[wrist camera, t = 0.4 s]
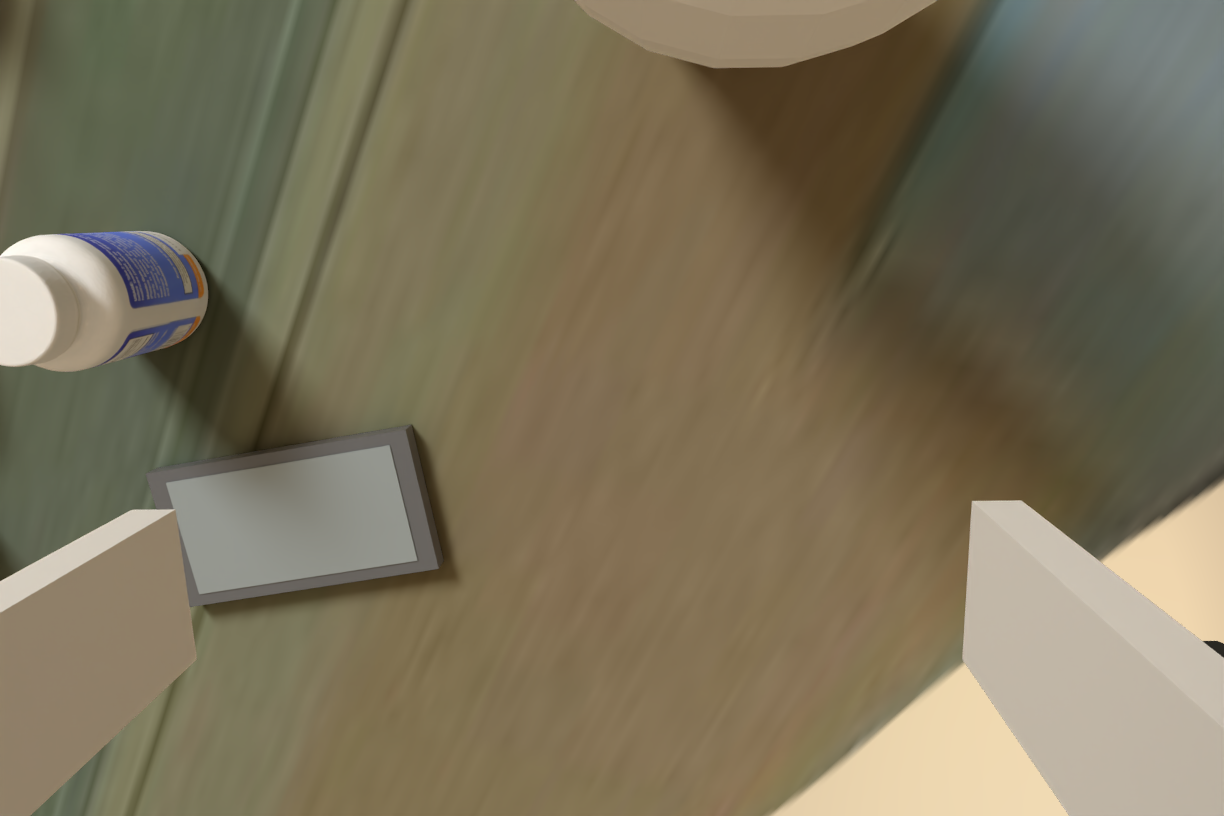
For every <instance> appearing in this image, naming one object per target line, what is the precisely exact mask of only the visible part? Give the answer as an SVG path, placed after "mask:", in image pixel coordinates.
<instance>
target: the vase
mask: <svg viewBox="0 0 1224 816" xmlns="http://www.w3.org/2000/svg"><path fill="white" fill-rule="evenodd" d="M574 1H575V2H576V3H577V4H578V5H579V6H580V7H581V8H582V9H583V10H584V11H585V12H586V13H587V14H588V15H589V16H591V17H592V18H594V19H596V20H597V21H599V22H601V23H602V24H604V25H606V26H607V27H609V28H611V29H612V30H614V31H616V32H617V33H619V34H621V35H622V36H624V37H626V38H627V39H629V40H631V41H633V42H634V43H636V44H638V45H639V46H641V47H643V48H644V49H646V50H648V51H651V52H655V53H658V54H662V55H666V56H670V57H673V58H677V59H681V60H685V61H688V62H692V63H696V64H700V65H703V66H707V67H711V68H757V67H784V66H788V65H791V64H794V63H798V62H801V61H805V60H808V59H811V58H815V57H818V56H821V55H825V54H828V53H832V52H835V51H838V50H842V49H845V48H848V47H851V46H854V45H856V44H859V43H861V42H864V41H866V40H869V39H871V38H873V37H876V36H878V35H881V34H883V33H885V32H886V31H888V30H890V29H891V28H893V27H895V26H896V25H898V24H899V23H901V22H903V21H904V20H906V19H908V18H909V17H911V16H913V15H914V14H916V13H918V12H919V11H921V10H923V9H924V8H926V7H928V6H929V5H931V4H932V3H934V2H936V1H937V0H574Z"/></svg>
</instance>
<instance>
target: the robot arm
mask: <svg viewBox="0 0 1224 816" xmlns="http://www.w3.org/2000/svg"><path fill="white" fill-rule="evenodd" d="M195 660H197V656H196V649H195V642H194V635H193V628H192V621H191V614H190V607H189V600H188V593H187V586H186V579H185V572H184V565H183V558H182V551H181V545H180V538H179V531H178V524H177V517H176V510H175V509H168V510H131V511H129V512H127V513H125V514H123V515H121V516H120V517H118V518H116V519H114V520H112V521H110V522H109V523H107V524H105V525H103V526H101V527H99V528H97V529H96V530H94V531H92V532H90V533H88V534H86V535H85V536H83V537H81V538H79V539H77V540H75V541H73V542H72V543H70V544H68V545H66V546H64V547H62V548H61V549H59V550H57V551H55V552H53V553H51V554H49V555H48V556H46V557H44V558H42V559H40V560H38V561H37V562H35V563H33V564H31V565H29V566H27V567H26V568H24V569H22V570H20V571H18V572H16V573H14V574H13V575H11V576H9V577H7V578H5V579H3V580H2V581H0V816H30V815H31V814H32V813H33V812H34V811H36V810H37V809H38V808H39V807H40V806H41V805H42V804H43V803H44V802H45V801H46V800H47V799H48V798H49V797H50V796H52V795H53V794H54V793H55V792H56V791H57V790H58V789H59V788H60V787H61V786H62V785H63V784H64V783H65V782H66V781H68V780H69V779H70V778H71V777H72V776H73V775H74V774H75V773H76V772H77V771H78V770H79V769H80V768H81V767H82V766H84V765H85V764H86V763H87V762H88V761H89V760H90V759H91V758H92V757H93V756H94V755H95V754H96V753H97V752H98V751H100V750H101V749H102V748H103V747H104V746H105V745H106V744H107V743H108V742H109V741H110V740H111V739H112V738H113V737H114V736H115V735H117V734H118V733H119V732H120V731H121V730H122V729H123V728H124V727H125V726H126V725H127V724H128V723H129V722H130V721H131V720H133V719H134V718H135V717H136V716H137V715H138V714H139V713H140V712H141V711H142V710H143V709H144V708H145V707H146V706H147V705H149V704H150V703H151V702H152V701H153V700H154V699H155V698H156V697H157V696H158V695H159V694H160V693H161V692H162V691H163V690H165V689H166V688H167V687H168V686H169V685H170V684H171V683H172V682H173V681H174V680H175V679H176V678H177V677H178V676H179V675H181V674H182V673H183V672H184V671H185V670H186V669H187V668H188V667H189V666H190V665H191V664H192V663H193V662H194V661H195ZM962 660H963V661H964V663H965V664H966V666H967V667H968V669H969V670H970V671H971V673H972V674H973V676H974V677H975V678H976V680H977V681H978V683H979V684H980V686H981V687H982V689H983V690H984V692H985V693H986V695H987V696H988V698H989V699H990V701H991V702H992V704H993V705H994V706H995V708H996V709H997V711H998V712H999V714H1000V715H1001V717H1002V718H1003V720H1004V721H1005V723H1006V724H1007V726H1008V727H1009V728H1010V730H1011V731H1012V733H1013V734H1014V736H1015V737H1016V739H1017V740H1018V742H1019V743H1020V744H1021V746H1022V747H1023V749H1024V750H1025V752H1026V753H1027V755H1028V756H1029V758H1030V759H1031V761H1032V762H1033V763H1034V765H1035V766H1036V768H1037V769H1038V771H1039V772H1040V774H1041V775H1042V777H1043V778H1044V779H1045V781H1046V782H1047V784H1048V785H1049V787H1050V788H1051V790H1052V791H1053V793H1054V794H1055V796H1056V797H1057V799H1058V800H1059V802H1060V803H1061V804H1062V806H1063V807H1064V809H1065V810H1066V812H1067V813H1068V815H1069V816H1224V644H1223V643H1221V642H1218V641H1201V640H1200V639H1199V638H1198V637H1196V636H1195V635H1194V634H1192V633H1191V632H1190V631H1189V630H1187V629H1186V628H1185V627H1183V626H1182V625H1181V624H1179V623H1178V622H1177V621H1176V620H1174V619H1173V618H1172V617H1170V616H1169V615H1168V614H1166V613H1165V612H1164V611H1163V610H1162V609H1160V608H1159V607H1158V606H1156V605H1155V604H1154V603H1153V602H1151V601H1150V600H1149V599H1147V598H1146V597H1145V596H1144V595H1142V594H1141V593H1139V592H1138V591H1137V590H1136V589H1135V588H1133V587H1132V586H1131V585H1129V584H1128V583H1127V582H1126V581H1124V580H1123V579H1122V578H1120V577H1119V576H1118V575H1116V574H1115V573H1114V572H1113V571H1111V570H1110V569H1109V568H1107V567H1106V566H1105V565H1104V564H1102V563H1101V562H1100V561H1099V560H1097V559H1096V558H1095V557H1093V556H1092V555H1091V554H1090V553H1088V552H1087V551H1086V550H1084V549H1083V548H1082V547H1081V546H1079V545H1078V544H1077V543H1075V542H1074V541H1073V540H1072V539H1070V538H1069V537H1068V536H1066V535H1065V534H1064V533H1063V532H1061V531H1060V530H1059V529H1057V528H1056V527H1055V526H1054V525H1052V524H1051V523H1050V522H1048V521H1047V520H1046V519H1045V518H1043V517H1042V516H1041V515H1039V514H1038V513H1037V512H1036V511H1034V510H1033V509H1032V508H1030V507H1029V506H1028V505H1027V504H1025V503H1024V502H1023V501H1021V500H1019V501H972V509H971V525H970V542H969V559H968V575H967V592H966V609H965V626H964V642H963V659H962Z"/></svg>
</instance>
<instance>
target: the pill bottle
mask: <svg viewBox="0 0 1224 816" xmlns="http://www.w3.org/2000/svg"><path fill="white" fill-rule="evenodd" d="M207 304H208V285H207V281H206V278H205V275H204V272H203V270H202V268H201V266H200V264H199V263H198V261H197V260H196V258H195V257H194V256H193V255H192V254H191V252H190V251H189V250H188V249H187V248H185V247H184V246H183V245H182V244H180V243H179V242H178V241H176V240H174V239H172V238H170V237H168V236H166V235H163V234H160V233H156V232H149V231H124V232H103V233H77V234H51V235H39V236H33V237H30V238H27V239H24V240H21V241H19V242H17V243H15V244H14V245H12V246H11V247H9V248H8V249H7V250H6V251H5V252H3V253H2V255H1V256H0V365H4V366H10V367H19V366H26V365H32V364H34V365H36V366H39V367H41V368H44V369H48V370H53V371H61V372H71V371H79V370H84V369H88V368H92V367H96V366H100V365H103V364H107V363H111V362H115V361H118V360H122V359H126V358H129V357H133V356H137V355H140V354H144V353H148V352H152V351H155V350H159V349H162V348H167V347H170V346H172V345H175V344H177V343H179V342H181V341H183V340H184V339H186V338H187V337H189V336H190V335H191V334H192V333H193V332H194V331H195V330H196V329H197V327H198V326H199V325H200V323H201V321H202V319H203V317H204V315H205V312H206V308H207Z"/></svg>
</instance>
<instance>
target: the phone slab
mask: <svg viewBox="0 0 1224 816" xmlns="http://www.w3.org/2000/svg"><path fill="white" fill-rule="evenodd" d="M146 476H147V480H148V483H149V486H150V490H151V493H152V496H153V499H154V503H155V506H156V509H157V510H168V509H175V510H176V517H177V524H178V531H179V538H180V545H181V551H182V558H183V565H184V572H185V579H186V586H187V593H188V600H189V607H193V606H200V605H206V604H213V603H219V602H226V601H232V600H239V599H245V598H252V597H258V596H265V595H271V594H278V593H284V592H291V591H298V590H304V589H311V588H317V587H324V586H330V585H337V584H343V583H350V582H356V581H363V580H369V579H376V578H382V577H389V576H395V575H402V574H409V573H415V572H422V571H428V570H435V569H439V568H440V566H441V564H442V563H443V561H444V560H443V555H442V551H441V547H440V543H439V538H438V534H437V530H436V526H435V522H434V517H433V513H432V509H431V505H430V500H429V496H428V492H427V488H426V484H425V479H424V475H423V471H422V467H421V462H420V458H419V454H418V450H417V446H416V441H415V437H414V433H413V429H412V425H407V426H401V427H395V428H390V429H384V430H378V431H372V432H366V433H360V434H354V435H348V436H342V437H337V438H331V439H325V440H319V441H313V442H307V443H301V444H295V445H290V446H284V447H278V448H272V449H266V450H260V451H254V452H248V453H242V454H237V455H231V456H225V457H219V458H213V459H207V460H201V461H195V462H190V463H184V464H178V465H172V466H166V467H160V468H156V469H154V470H152V471H150V472H148V473H146Z"/></svg>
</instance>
